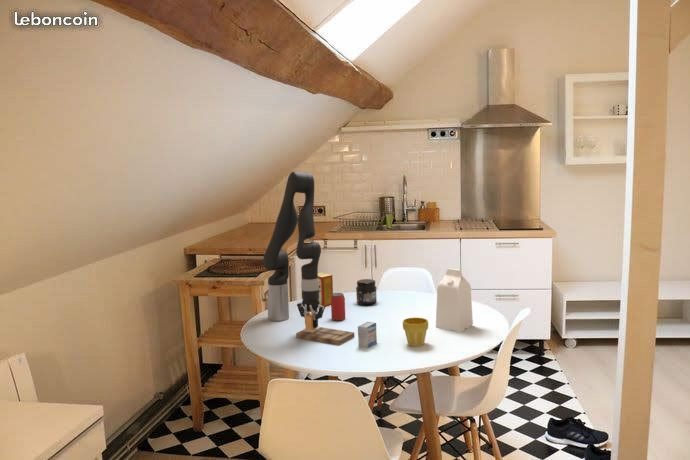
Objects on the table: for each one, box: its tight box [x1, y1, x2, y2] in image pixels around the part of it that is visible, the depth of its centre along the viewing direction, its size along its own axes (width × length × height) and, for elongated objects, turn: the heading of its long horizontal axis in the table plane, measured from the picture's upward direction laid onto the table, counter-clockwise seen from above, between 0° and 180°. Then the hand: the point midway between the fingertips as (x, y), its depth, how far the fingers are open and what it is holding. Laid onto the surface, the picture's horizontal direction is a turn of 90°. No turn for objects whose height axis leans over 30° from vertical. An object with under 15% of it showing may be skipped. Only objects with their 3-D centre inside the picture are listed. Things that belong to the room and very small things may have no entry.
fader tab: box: [302, 313, 321, 333], centre depth 264 cm, size 5×6×7 cm
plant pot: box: [402, 316, 429, 347], centre depth 248 cm, size 10×10×10 cm
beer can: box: [330, 292, 346, 322], centre depth 287 cm, size 7×7×12 cm
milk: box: [435, 267, 474, 332], centre depth 269 cm, size 12×12×26 cm
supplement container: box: [355, 278, 378, 307], centre depth 313 cm, size 10×10×12 cm
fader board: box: [295, 326, 355, 346], centre depth 261 cm, size 22×12×2 cm, turn 58°
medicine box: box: [357, 321, 378, 349], centre depth 249 cm, size 8×4×9 cm, turn 148°
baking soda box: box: [318, 272, 334, 308], centre depth 314 cm, size 10×6×16 cm
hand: (311, 326), depth 264 cm, fingers open, 3 cm apart
